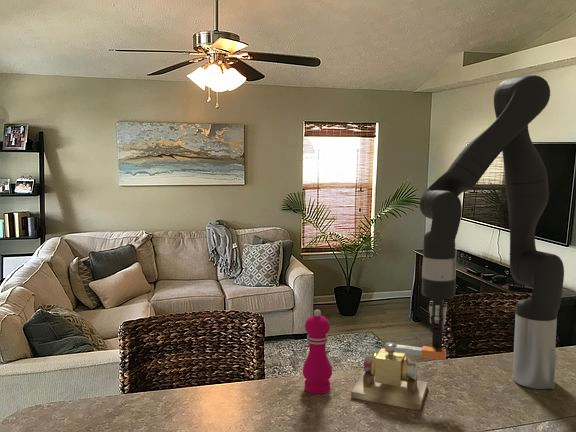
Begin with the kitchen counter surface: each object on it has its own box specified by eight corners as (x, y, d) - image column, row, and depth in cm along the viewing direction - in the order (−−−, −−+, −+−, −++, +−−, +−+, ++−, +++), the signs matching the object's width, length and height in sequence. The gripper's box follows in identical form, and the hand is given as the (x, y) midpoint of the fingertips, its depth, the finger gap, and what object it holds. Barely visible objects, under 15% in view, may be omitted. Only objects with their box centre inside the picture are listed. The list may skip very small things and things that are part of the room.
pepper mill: (332, 382, 126) (332, 305, 124) (331, 395, 119) (332, 314, 117) (303, 381, 127) (303, 305, 125) (301, 394, 120) (301, 313, 117)
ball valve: (417, 377, 121) (418, 350, 120) (413, 388, 115) (414, 360, 114) (368, 369, 125) (369, 343, 125) (362, 380, 119) (362, 353, 119)
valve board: (427, 387, 123) (427, 370, 122) (420, 410, 112) (420, 391, 111) (363, 377, 129) (363, 360, 129) (351, 397, 118) (351, 379, 118)
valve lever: (445, 360, 114) (445, 352, 113) (383, 352, 118) (383, 345, 118) (445, 356, 116) (446, 348, 116) (385, 348, 121) (385, 341, 121)
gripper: (455, 283, 109) (453, 359, 111) (456, 270, 121) (454, 339, 123) (419, 281, 111) (418, 355, 113) (424, 268, 124) (422, 335, 126)
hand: (437, 347), depth 118 cm, fingers closed
